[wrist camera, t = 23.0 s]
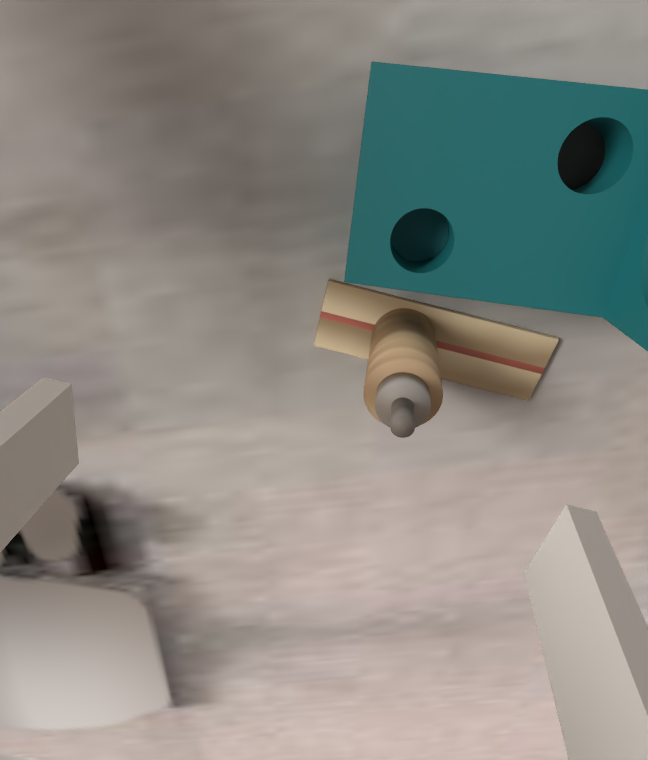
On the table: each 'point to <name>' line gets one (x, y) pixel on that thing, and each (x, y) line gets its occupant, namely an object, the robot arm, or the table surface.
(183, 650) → the table surface
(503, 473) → the table surface
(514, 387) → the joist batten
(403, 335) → the awl
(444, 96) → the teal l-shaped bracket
